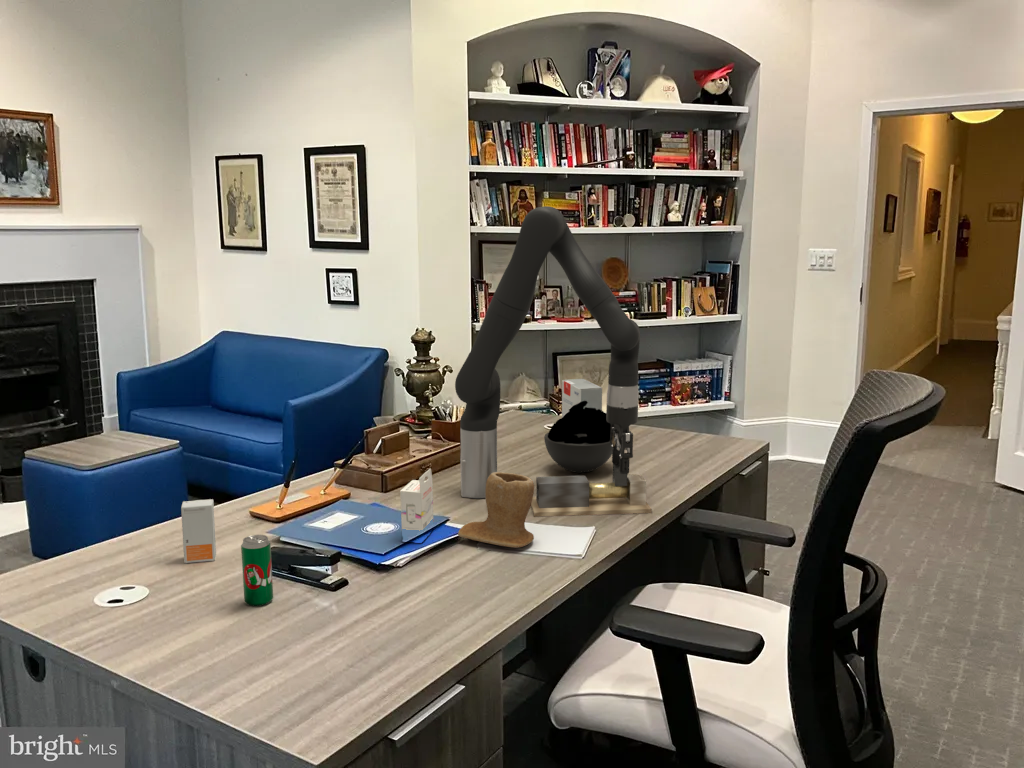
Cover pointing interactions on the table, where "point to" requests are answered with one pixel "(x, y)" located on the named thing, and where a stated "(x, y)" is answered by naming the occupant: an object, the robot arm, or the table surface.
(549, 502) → the tube stand
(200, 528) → the skincare box
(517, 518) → the brown felt boot
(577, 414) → the coal bowl
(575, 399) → the hard drive box
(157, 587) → the table surface
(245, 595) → the soda can
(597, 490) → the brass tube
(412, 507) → the ink cartridge box
